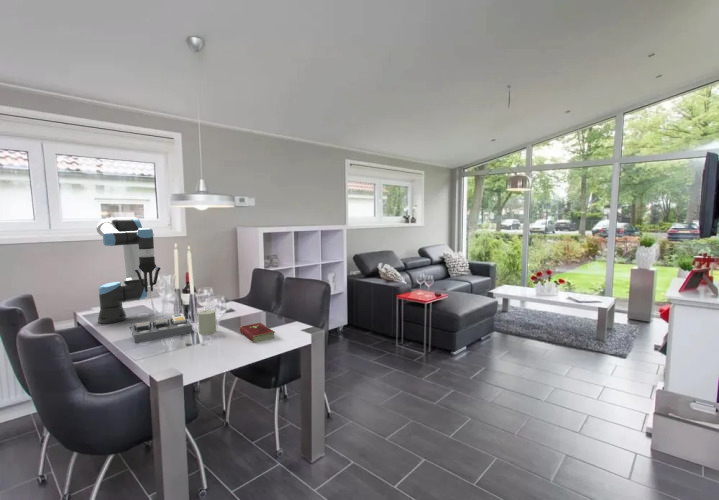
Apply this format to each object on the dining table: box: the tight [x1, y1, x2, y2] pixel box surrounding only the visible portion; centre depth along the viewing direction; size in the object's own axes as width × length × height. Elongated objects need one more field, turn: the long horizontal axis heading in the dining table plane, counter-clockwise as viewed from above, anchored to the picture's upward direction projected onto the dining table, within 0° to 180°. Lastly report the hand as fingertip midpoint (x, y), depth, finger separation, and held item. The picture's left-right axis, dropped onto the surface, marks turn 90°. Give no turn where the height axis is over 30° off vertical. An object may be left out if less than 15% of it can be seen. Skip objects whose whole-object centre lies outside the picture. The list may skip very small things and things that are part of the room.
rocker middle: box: [153, 318, 169, 324], centre depth 209 cm, size 8×6×2 cm
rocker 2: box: [170, 313, 187, 324], centre depth 214 cm, size 8×6×2 cm
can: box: [197, 309, 217, 336], centre depth 209 cm, size 9×9×12 cm
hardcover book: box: [239, 322, 276, 344], centre depth 203 cm, size 12×21×4 cm, turn 36°
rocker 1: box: [135, 321, 151, 327], centre depth 203 cm, size 8×6×2 cm
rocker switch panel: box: [130, 315, 193, 344], centre depth 207 cm, size 16×28×7 cm, turn 126°
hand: (149, 297), depth 210 cm, fingers closed
